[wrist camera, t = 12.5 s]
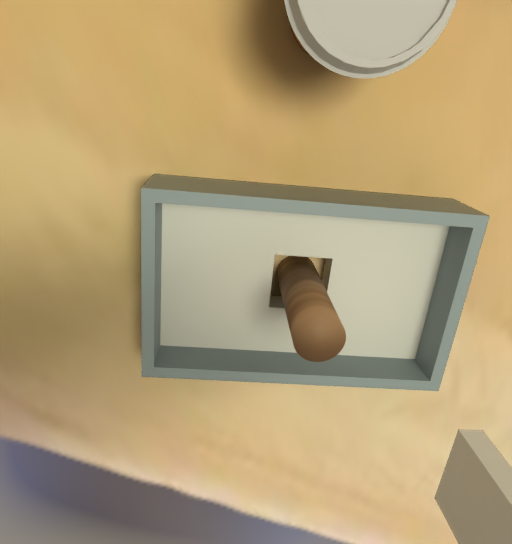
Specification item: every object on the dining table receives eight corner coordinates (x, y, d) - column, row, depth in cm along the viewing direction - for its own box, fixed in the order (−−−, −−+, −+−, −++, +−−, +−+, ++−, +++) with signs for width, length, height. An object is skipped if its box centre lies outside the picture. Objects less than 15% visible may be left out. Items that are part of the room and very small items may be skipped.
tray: (153, 340, 43) (141, 376, 37) (154, 173, 37) (140, 187, 31) (412, 354, 45) (438, 391, 39) (453, 198, 39) (489, 216, 33)
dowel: (279, 252, 40) (297, 313, 29) (318, 256, 40) (350, 318, 29) (274, 288, 41) (289, 359, 30) (311, 292, 42) (340, 364, 31)
